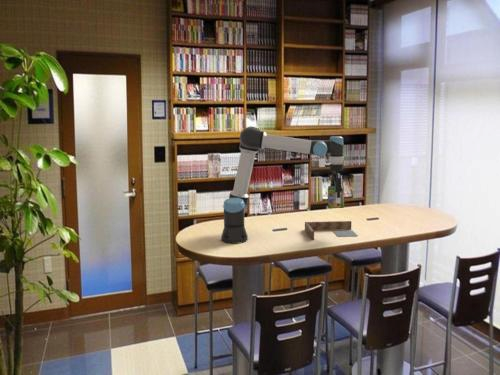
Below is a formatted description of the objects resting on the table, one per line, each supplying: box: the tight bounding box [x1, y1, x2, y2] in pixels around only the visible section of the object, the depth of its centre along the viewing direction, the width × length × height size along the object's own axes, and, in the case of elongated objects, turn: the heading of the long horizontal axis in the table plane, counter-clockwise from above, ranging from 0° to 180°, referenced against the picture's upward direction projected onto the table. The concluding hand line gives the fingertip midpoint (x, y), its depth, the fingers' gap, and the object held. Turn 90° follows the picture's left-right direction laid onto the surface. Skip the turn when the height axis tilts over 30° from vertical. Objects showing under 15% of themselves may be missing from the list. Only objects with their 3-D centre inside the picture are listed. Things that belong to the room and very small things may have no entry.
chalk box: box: [327, 181, 345, 209], centre depth 267 cm, size 9×9×15 cm
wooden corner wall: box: [304, 220, 352, 241], centre depth 273 cm, size 29×22×5 cm
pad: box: [332, 230, 358, 238], centre depth 274 cm, size 12×12×1 cm
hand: (335, 201), depth 268 cm, fingers closed on chalk box, 10 cm apart
